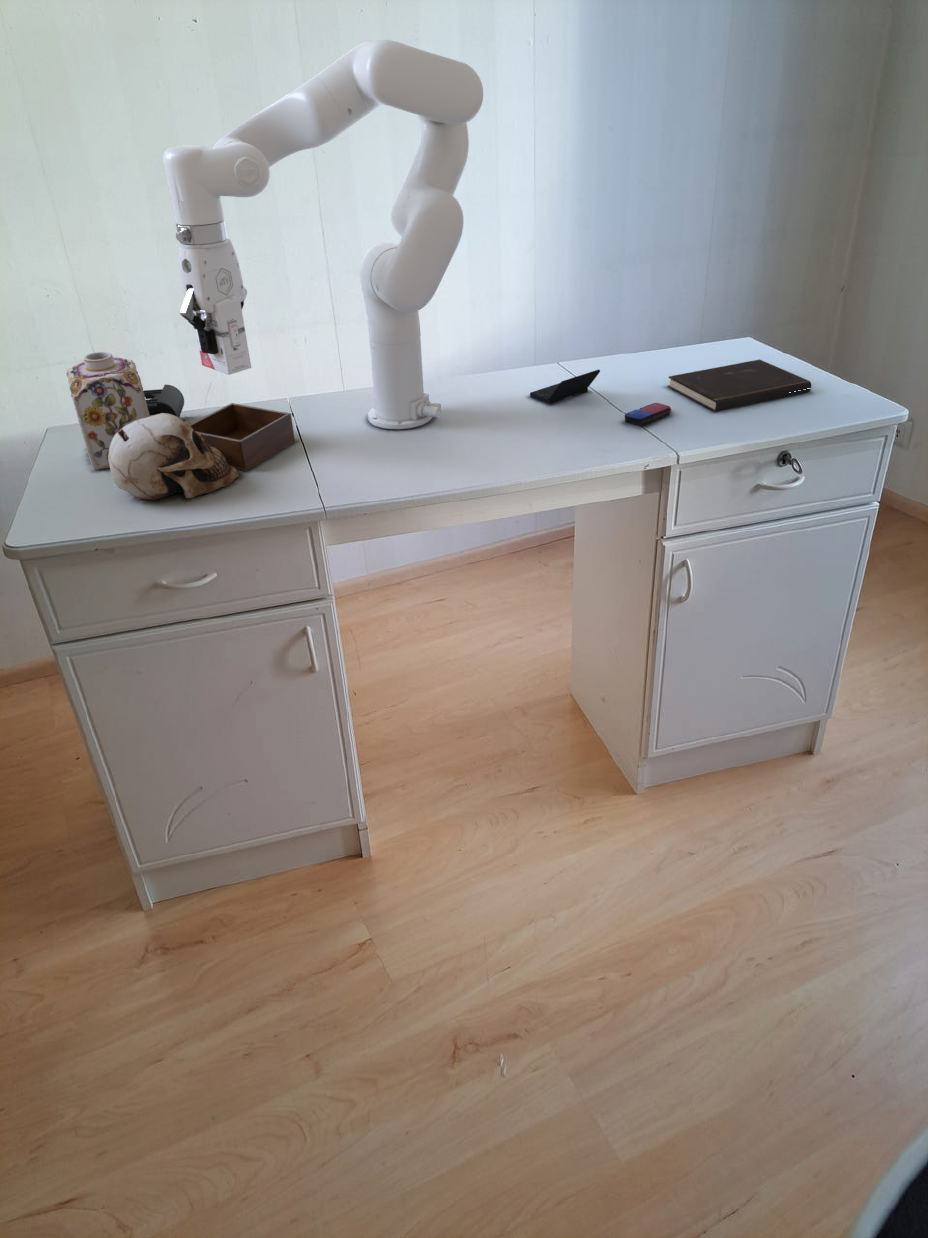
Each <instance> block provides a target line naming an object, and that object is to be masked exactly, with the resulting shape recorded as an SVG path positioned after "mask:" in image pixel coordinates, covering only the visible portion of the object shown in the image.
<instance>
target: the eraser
mask: <svg viewBox="0 0 928 1238" xmlns="http://www.w3.org/2000/svg"><path fill="white" fill-rule="evenodd" d="M671 412H672V408H671V406H669V405H667V404H665V403H661V402H653V403H650V404H646V405H645V406H642V407H639V408H637V409H633V410H631V411H628V412H627V413H625V414H624V423H627V424H632V425H636V426H640V427H642V426H646V425H649V424H651V423H654V422H656V421H658V420H661V419H663V418H665V417H668V416H670V414H671Z"/></svg>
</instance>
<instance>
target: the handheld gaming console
mask: <svg viewBox="0 0 928 1238" xmlns="http://www.w3.org/2000/svg"><path fill="white" fill-rule="evenodd" d="M600 372H601V369H596V370H592V371H589V372H586V373H583V374H580V375H577V376H574V377H571V378H568V379H565V380H561V381H560V382H559V383H556V384H553V385H549V386H546V387H543V388H540V389H537V390H533V391H531V392H530V393H529V398H532V399H534V400H537V401H539V402H542V403H544V404H547V405H549V406H550V405H552V404H553V405H554V404H556V403H558V402H562V401H565V400H566V399H570V398H572V397H573V398H574V397H577V396H580V395H583V394H585V393H588V392H589V387H590V386H591V385H592V384H593V382H594V381H595V379H596V378H597V377H598V375H599V374H600Z"/></svg>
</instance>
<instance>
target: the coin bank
mask: <svg viewBox="0 0 928 1238" xmlns="http://www.w3.org/2000/svg"><path fill="white" fill-rule="evenodd" d="M190 424H191V423H189V422H187V421H184V420H183V419H181V418H180V417H176V416H174V415H171V414H168V413H161V414H157V415H153V416H149V417H147V418H143V419H139V420H136V421H134V422H132V423H130V424H128V425H126V426H125V427H123V428H122V429H121V430H119V431H118V432H117V433H116V434H115V436H114V437H113V439H112V442H111V444H110V448H109V455H108V460H109V464H110V468H109V469H110V474H111V478H112V480H113V483H114V484H115V485H116V487H117V488H118V489H120V490H123V491H125V492H127V493H128V494H129V495H131V496H132V497H133V498H134V499H141V500H146V501H147V500H151V501H157V500H159V499H163V498H165V497H169V496H173V495H175V494H176V493H177V494H178V493H183V494H184V497H185V498H186V499H193V498H195V497H197V496H202V495H206V494H211V493H212V492H214V491H217V490H219V489H221V488H224V487H228V486H229V485H230V484H231V483H232V482H233V481H235V479H237V478H239V477H240V473H239V470H237V469H235V468H234V467H232V466H231V465H228V464H227V462H226V459H225V457H224V456H223V454H222V453H221V452H220V451H219V450H218V449H216V448H214V447H210V446H209V445H208V444H207V443H206V441H205V439H204V438H201V434H200V433H196V432H195V431H194V429H193V428H192V427H191V425H190Z"/></svg>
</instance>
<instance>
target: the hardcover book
mask: <svg viewBox="0 0 928 1238" xmlns="http://www.w3.org/2000/svg"><path fill="white" fill-rule="evenodd" d="M668 379H669V380H670V381H669V385H667V388H668V389H670V390H672V391H674V392H675V393H678V394H680V395H681V396H683V397H685V398H687V399H689V400H691V401H693V402H695V403H696V404H698V405H700V406H702V407H704V408H705V409H708V410H709V411H711V412H719V411H723V410H728V409H733V408H738V407H744V406H748V405H753V404H757V403H762V402H768V401H771V400H773V401H774V400H777V399H778V400H779V399H782V398H787V397H792V396H796V395H801V394H807V393H810V392H811V389H812V382H811V381H810V380H809V379H806V378H804V377H802V376H800V375H797V374H794V373H792V372H790V371H787V370H785V369H783V368H780V367H778V366H776V365H773V364H771V363H769V362H767V361H765V360H762V359H754V360H750V361H745V362H739V363H733V364H727V365H723V366H718V367H712V368H706V369H702V370H701V369H700V370H695V371H691V372H685V373H679V374H674V375H669V376H668ZM807 388H811V389H807ZM803 389H806V390H803ZM798 390H801V391H798ZM794 391H796V392H794ZM789 392H791V393H789Z"/></svg>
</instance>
